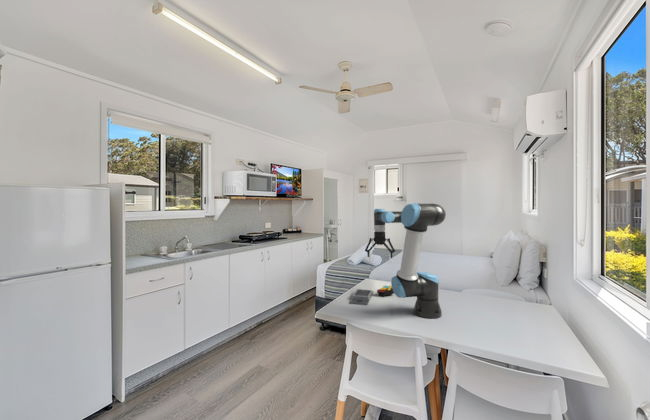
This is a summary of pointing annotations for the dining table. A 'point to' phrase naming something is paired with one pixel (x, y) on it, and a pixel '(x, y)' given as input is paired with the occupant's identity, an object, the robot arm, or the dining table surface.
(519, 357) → the dining table surface
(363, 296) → the grey rectangular box
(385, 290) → the gadget
